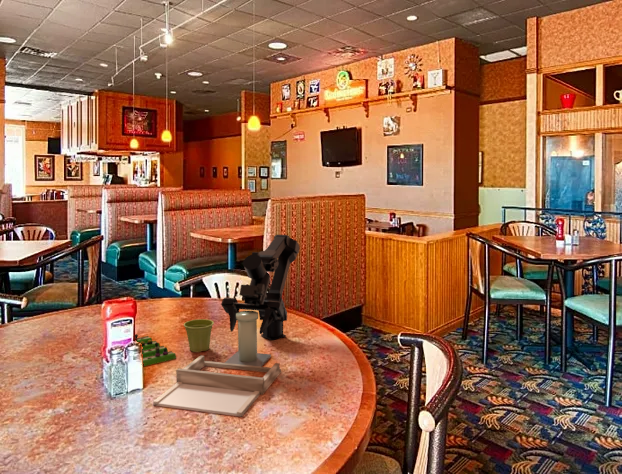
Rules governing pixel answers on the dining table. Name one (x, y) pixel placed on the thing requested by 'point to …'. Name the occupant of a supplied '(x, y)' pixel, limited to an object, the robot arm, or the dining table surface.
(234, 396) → the frame lid
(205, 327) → the plant pot
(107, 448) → the dining table surface
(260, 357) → the slate pad
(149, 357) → the toy garden set
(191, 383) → the frame
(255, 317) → the pale lidded canister
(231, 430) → the dining table surface
